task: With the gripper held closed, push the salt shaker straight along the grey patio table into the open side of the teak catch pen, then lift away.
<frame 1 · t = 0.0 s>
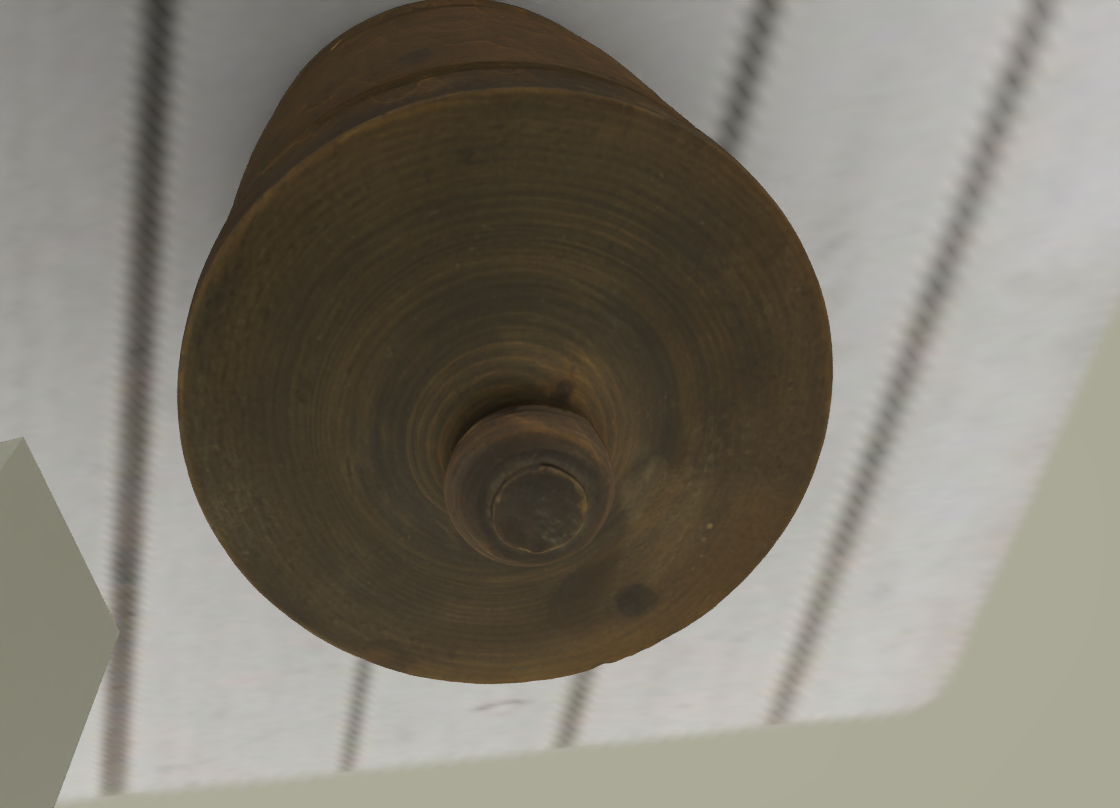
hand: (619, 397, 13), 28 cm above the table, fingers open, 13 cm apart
wooden container: (463, 208, 40), on the table
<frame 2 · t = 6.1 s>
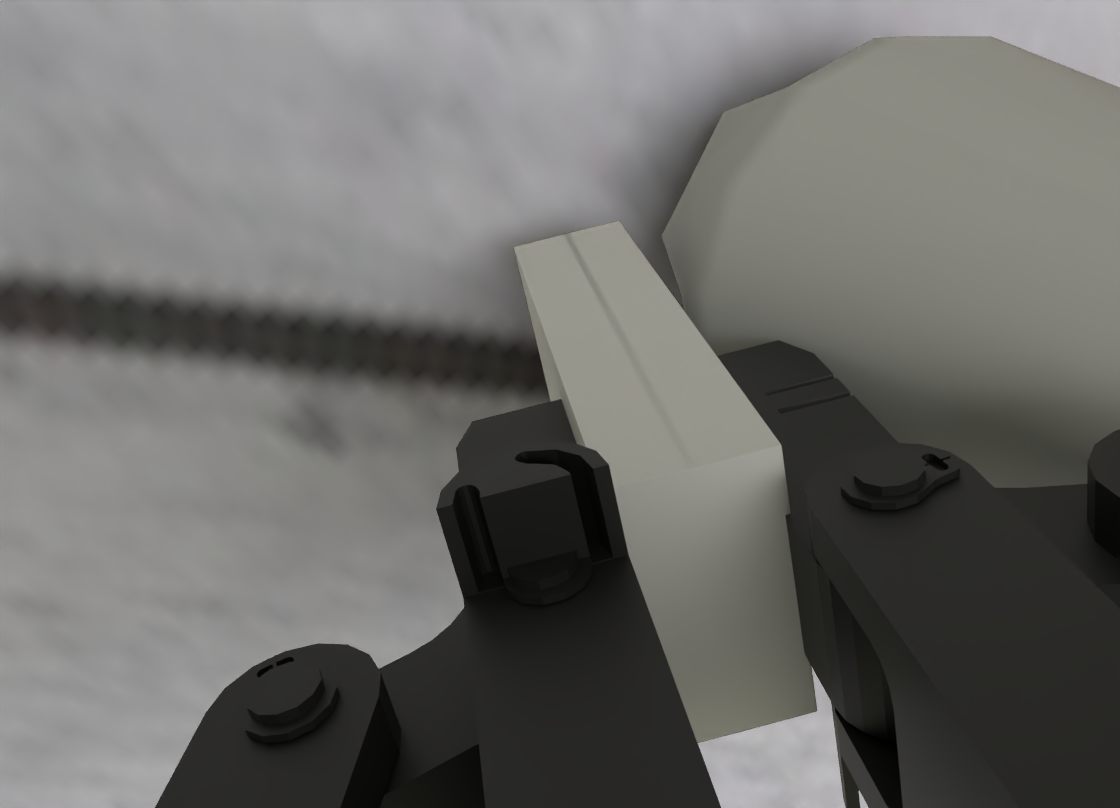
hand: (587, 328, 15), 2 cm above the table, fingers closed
salt shaker: (776, 223, 16), on the table, touching gripper
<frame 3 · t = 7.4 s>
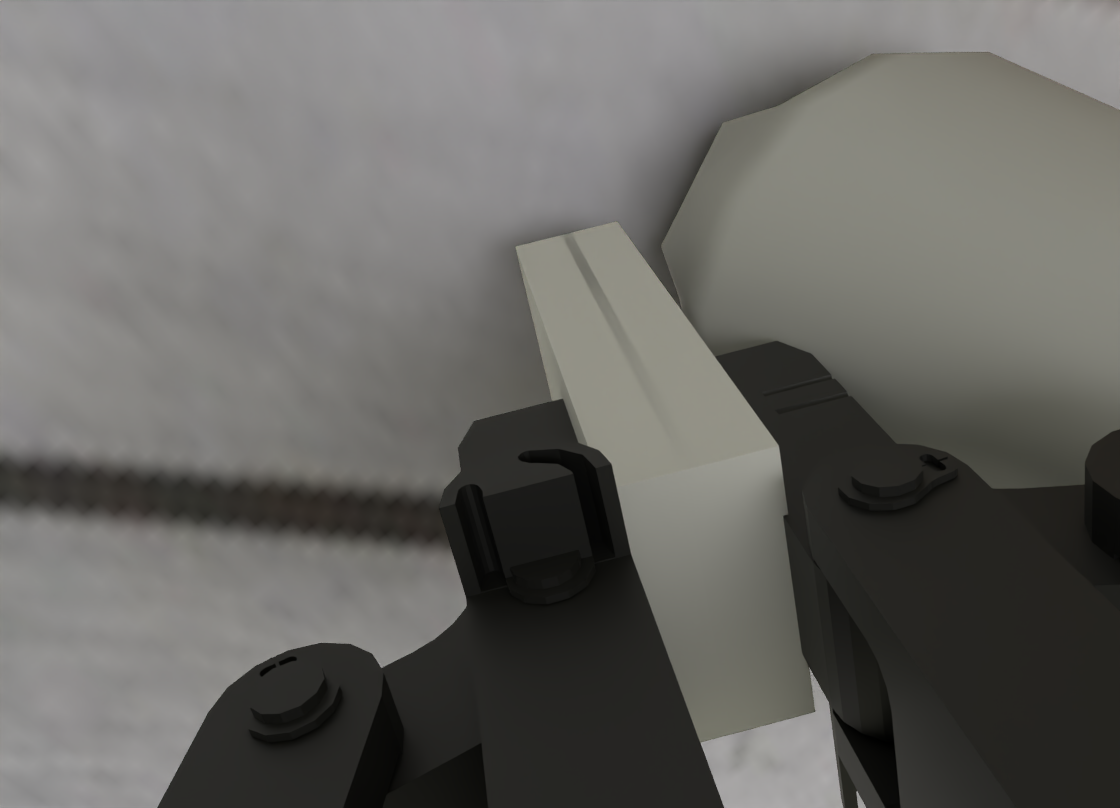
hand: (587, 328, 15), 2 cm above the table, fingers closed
salt shaker: (775, 231, 16), on the table, touching gripper
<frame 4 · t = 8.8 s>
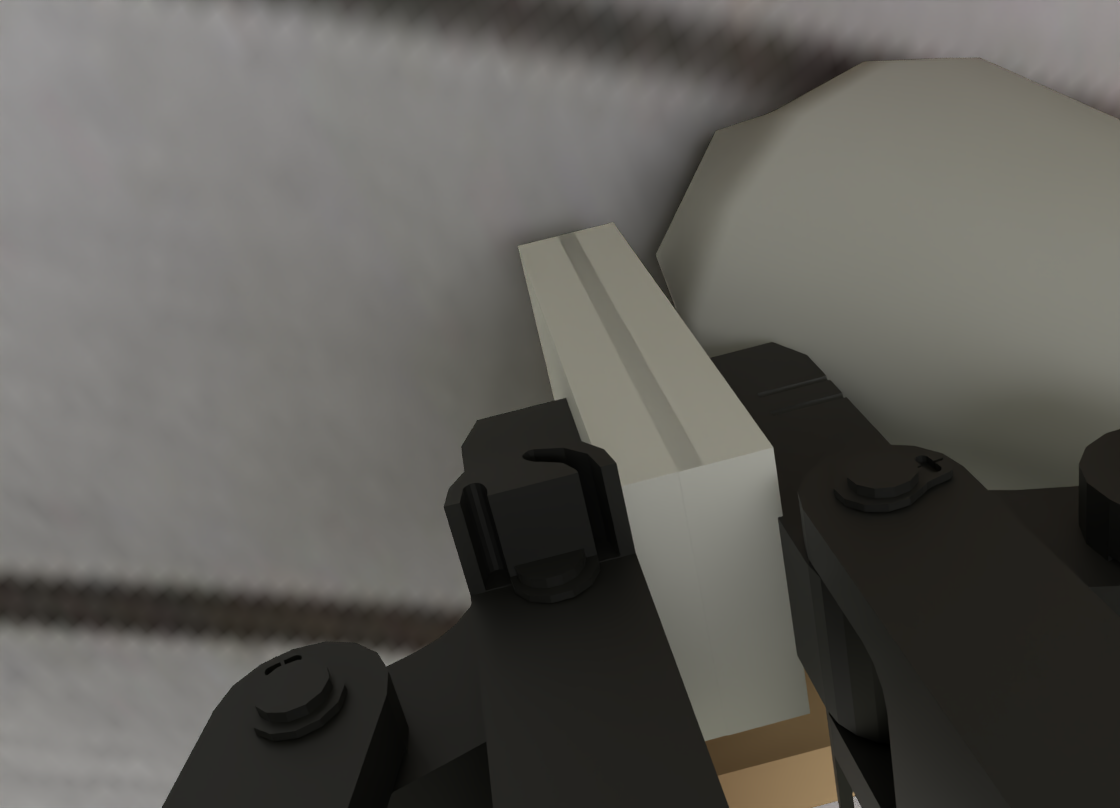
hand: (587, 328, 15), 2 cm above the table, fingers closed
salt shaker: (770, 237, 16), on the table, touching gripper, hand
catch pen: (947, 164, 16), on the table
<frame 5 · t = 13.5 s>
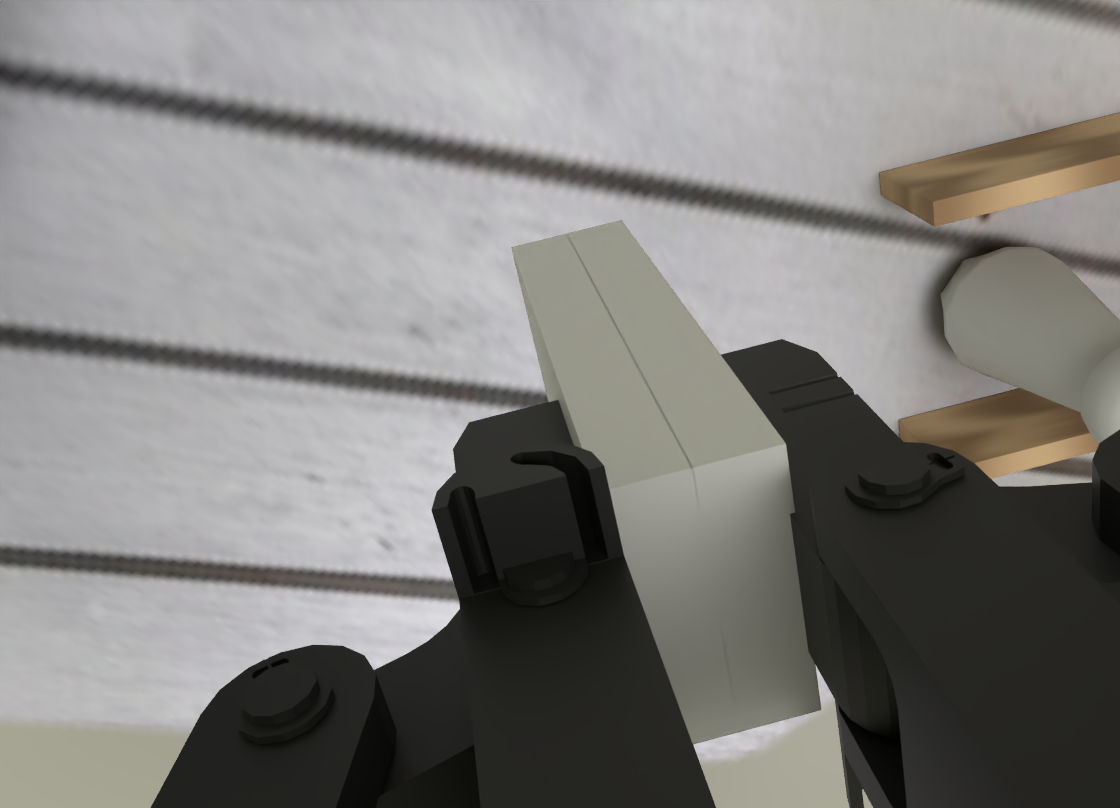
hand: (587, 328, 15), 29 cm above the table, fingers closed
salt shaker: (981, 293, 49), on the table
catch pen: (1039, 275, 48), on the table
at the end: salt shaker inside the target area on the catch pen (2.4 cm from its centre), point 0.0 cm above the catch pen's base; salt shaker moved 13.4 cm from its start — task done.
